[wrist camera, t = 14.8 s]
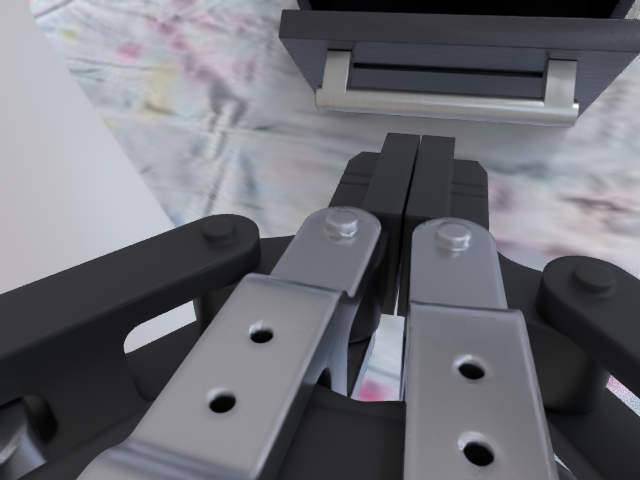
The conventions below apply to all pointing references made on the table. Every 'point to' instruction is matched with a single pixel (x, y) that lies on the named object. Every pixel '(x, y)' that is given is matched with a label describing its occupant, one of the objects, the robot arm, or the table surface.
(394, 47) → the oven door
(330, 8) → the oven
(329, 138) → the table surface
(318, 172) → the table surface
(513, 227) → the table surface
